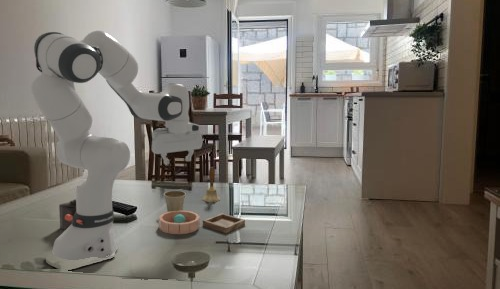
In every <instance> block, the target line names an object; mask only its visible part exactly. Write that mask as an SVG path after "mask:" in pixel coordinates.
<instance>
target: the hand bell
mask: <svg viewBox="0 0 500 289" xmlns="http://www.w3.org/2000/svg"><path fill="white" fill-rule="evenodd" d="M208 176H209V187H208V188H207V189H206V193H205V195H204V197H203V198H202V200H203V202H206V203H217V202H219V201H220V200H221V198H220V197H219V196H218V193H217V192H218V191H217V188H215V187H214V179H215V169H214V166H211V167H210V168H209V172H208Z"/></svg>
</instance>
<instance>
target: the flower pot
mask: <svg viewBox="0 0 500 289" xmlns="http://www.w3.org/2000/svg"><path fill="white" fill-rule="evenodd" d="M186 195H187V193H186V192H185V191H181V190H168V191H165V192H164V193H163V196H164V200H165V204H166V211H167V212H170V211H178V210H179V211H180V210H181V211H184V210H183V209H184V201H185V198H186Z"/></svg>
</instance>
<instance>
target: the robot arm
mask: <svg viewBox="0 0 500 289" xmlns="http://www.w3.org/2000/svg"><path fill="white" fill-rule="evenodd" d="M33 50H34V57H35V66H36V69H37V70H38V71H39V72H40V74H39V75H38V76H36V78H34V80H33V81H32V82H31V86H30V87H31V93H32V97H33V98H34V100H35V103H36V104H37V106H38V108H39V110H40V111H41V113H42V115H43V116H44V118H45V119H46V121H47V122H48V123H49V125H50V126H51V128H52V129H53V131H54V132H55V134H56V136H57V137H58V141H57V143H56V146H55V155H56V157H57V158H56V159H57V160H58V161H59V162H60V163H61V164H64V165H67V166H69V167H72V168H74V169H75V168H76V169H80V170H82V169H83V170H87V177H86V180H84V181H83V182H81V183H80V184H79V185H78V187H76V190H75V199H76V212H75V214H74V217H73V216H72V215H70V214H67V215H66V216H65V219H66V220H68V221H72V224H71V225H70V226H69V227H68V228H67V229H66V230H63V232H62V233H61V234H60V235H59V236H58V237H57V238H55V240H54V243H53V246H52V247H53V248H52V253H53V255H55V256H58V257H60V258H63V259H67V260H79V259H85V258H90V257H98V258H108V257H113V256H115V257H116V253H115V251H116V250H117V249H118V250H119V246H118V245H117V241H116V236H115V231H114V220H115V216H114V208H113V187H114V184H115V181H116V179H117V177H118V175H119V174H120V173H121V172H122V171H123V170H125V169H126V168H127V167H128V165H129V162H130V160H131V151H130V148H129V146H128V144H127V143H126V142H124V141H122V140H118V139H115V138H113V137H107V136H106V137H105V136H97V135H93V134H92V133H91V132H90V130H91V127H92V124H93V117H92V115H91V114H90V111H89V110H88V108H87V106H86V104H85V103H84V102H83V100H82V98H81V97H80V95H79V94H78V92H77V91H76V88H75V83H76V84H83V83H88V82H89V81H91V80H92V79H94V78H95V77H96V75H97V74H99V75H101V76H102V77H103V78H104V79H105V81H106V82H107V84H108V86H109V87H110V88H111V90H112V91H113V92H115V94H116V95H117V96H118V97H119V98H120V99H121V100H122V101H123V103H125V105H126V107H127V108H128V110H129V112H130V114H131V115H132V116H133V118H135V119H137V120H150V121H159V122H161V121H162V122H165V127H162V128H156V129H155V130H153V131H152V133H151V138H152V140H151V152H152V153H153V154H156V155H160V157H161V158H162V160H163V164H164V165H165V166H166V165H170V159H168V158H167V156H168V154H169V153H170V154H171V153H176V152H177V153H178V152H185V151H187V152H188V154H187V155H186V156H185V162H191V161H192V156H193V155H194V152H195V150H199V149H200V150H201V149H202V146H203V135H202V133H201V132H202V131H201V129H202V126H201V125H200V124H197V123H194V122H191V121H190V115H189V111H190V95H189V93H190V92H189V89H188V87H187V86H186V85H185V84H181V83H174V82H173V83H170V82H169V83H167V84H166V87H165V89H164V90H162V91H161V92H159V93H157V92H155V93H154V92H145V91H141V90H139V89H137V87H136V86H135V85H134V84H133V82H134V81H135V79H136V77H137V76H138V73H139V63H138V61H137V60H136V58H135V57H134V56H133V54H132V53H131V52H130V51H129V50H128V49H127V48H126V47H125V46H124V45H123V44H121V42H119V41H118V40H117V39H116V38H114V37H113V36H112V35H110V34H109V33H107V32H105V31H102V30H94V31H91V32H90V33H87V35H86V36H85V37H84V38H83V39H81V40H78V39H75V38H74V37H71V36H69V35H66V34H63V33H61V32H56V31H50V32H45V33H42V34H41V35H40V36H38V37H37V38H36V39H35V42H34V48H33ZM118 250H117V251H118ZM108 255H109V256H108ZM106 256H108V257H106Z"/></svg>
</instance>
